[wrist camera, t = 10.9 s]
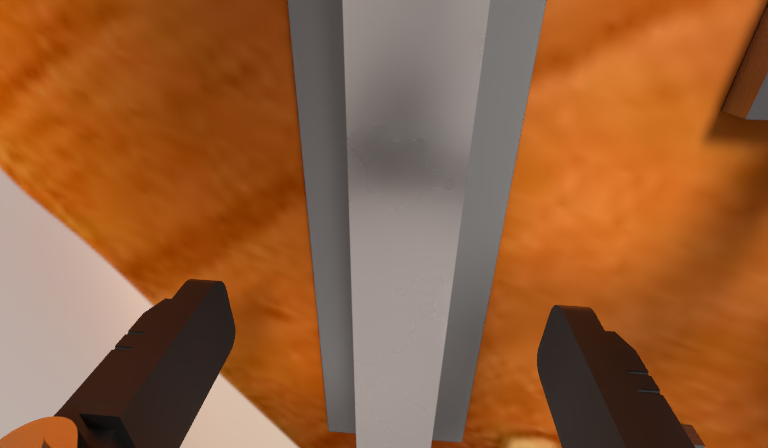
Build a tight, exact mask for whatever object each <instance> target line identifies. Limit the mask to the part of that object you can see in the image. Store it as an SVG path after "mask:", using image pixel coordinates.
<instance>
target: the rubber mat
mask: <svg viewBox="0 0 768 448" xmlns="http://www.w3.org/2000/svg"><path fill="white" fill-rule="evenodd" d="M545 5H546V0H490V6H489V13H488V21H487V28H486V36H485V43H484V51H483V58H482V66H481V74H480V81H479V89H478V96H477V104H476V111H475V119H474V126H473V134H472V142H471V149H470V157H469V164H468V172H467V179H466V187H465V194H464V202H463V209H462V217H461V225H460V232H459V240H458V247H457V255H456V262H455V270H454V277H453V285H452V292H451V300H450V308H449V315H448V323H447V330H446V338H445V345H444V353H443V360H442V368H441V376H440V383H439V391H438V398H437V406H436V413H435V421H434V428H433V436H432V440H437V441H449V442H461V443H462V438H463V433H464V428H465V423H466V418H467V412H468V407H469V402H470V397H471V392H472V386H473V381H474V376H475V371H476V365H477V360H478V355H479V350H480V345H481V339H482V334H483V329H484V324H485V318H486V313H487V308H488V303H489V298H490V292H491V287H492V282H493V277H494V271H495V266H496V261H497V256H498V251H499V245H500V240H501V235H502V230H503V224H504V219H505V214H506V209H507V204H508V198H509V193H510V188H511V183H512V178H513V172H514V167H515V162H516V157H517V151H518V146H519V141H520V136H521V131H522V125H523V120H524V115H525V110H526V104H527V99H528V94H529V89H530V84H531V78H532V73H533V68H534V63H535V57H536V52H537V47H538V42H539V37H540V31H541V26H542V21H543V16H544V10H545ZM288 11H289V21H290V32H291V42H292V53H293V63H294V74H295V84H296V95H297V105H298V116H299V126H300V137H301V147H302V158H303V168H304V179H305V189H306V200H307V210H308V221H309V231H310V242H311V252H312V263H313V273H314V284H315V294H316V305H317V315H318V326H319V336H320V347H321V357H322V368H323V378H324V389H325V399H326V410H327V420H328V431H331V432H343V433H355V434H356V418H355V386H354V354H353V322H352V290H351V258H350V226H349V194H348V162H347V130H346V98H345V66H344V34H343V2H342V0H288Z"/></svg>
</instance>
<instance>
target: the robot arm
mask: <svg viewBox="0 0 768 448" xmlns="http://www.w3.org/2000/svg"><path fill="white" fill-rule="evenodd" d="M234 339H235V324H234V319H233V315H232V311H231V307H230V303H229V299H228V294H227V290H226V287H225V284H224V283H223V282H222V281H211V280H196V279H190V280H188V281H186V282H185V283H184V285H183V286H182V287H181V288H180V289H179V291H178V292H177V293H176V294H175V296H174V297H173V298H172V299H164V300H162V301H161V302H159V303H158V304H157V305H155V306H154V307H152V308H151V309H149V310H148V311H146V312H145V313H143V315H142V316H141V317H140V318H139V319H138V320H137V321H136V323H135V324H134V325H133V326H132V327H131V329H130V330H129V331H128V334H127V335H125V336H123V338H122V339H121V340H120V341H119V342H118V343H117V344H116V346H115V349H114V350H111V351H110V352H109V354H108V355H107V356H106V357H105V358H104V360H103V361H102V362H101V363H100V364H99V365H98V366H97V367H96V369H95V370H94V371H93V372H92V373H91V374H90V375H89V377H88V378H87V379H86V380H85V381H84V382H83V384H82V385H81V386H80V387H79V388H78V389H77V390H76V392H75V393H74V394H73V395H72V396H71V397H70V398H69V400H68V401H67V402H66V403H65V404H64V405H63V406H62V408H61V409H60V410H59V411H58V412H57V413H56V414H55V415H54V416H53V417H46V418H42V419H38V420H35V421H32V422H30V423H27V424H25V425H23V426H21V427H19V428H17V429H15V430H14V431H12V432H11V433H9V434H7V435H6V436H4V437H3V438H2V439H0V448H179V447H180V445H181V444H182V442H183V440H184V438H185V436H186V434H187V432H188V431H189V429H190V426H191V425H192V423H193V421H194V419H195V417H196V415H197V414H198V412H199V410H200V408H201V406H202V404H203V402H204V400H205V399H206V397H207V395H208V393H209V391H210V389H211V387H212V385H213V383H214V381H215V380H216V378H217V376H218V374H219V372H220V370H221V368H222V366H223V365H224V363H225V361H226V359H227V357H228V355H229V353H230V351H231V349H232V347H233V343H234ZM537 367H538V373H539V377H540V380H541V383H542V386H543V389H544V393H545V396H546V399H547V402H548V405H549V408H550V411H551V414H552V417H553V421H554V424H555V427H556V430H557V433H558V436H559V439H560V442H561V445H562V448H695V446H694V445H693V443H692V441H691V440H690V438H689V437H688V435H687V433H686V432H685V430H684V428H683V427H682V425H681V424H680V422H679V420H678V419H677V417H676V416H675V414H674V412H673V411H672V409H671V407H670V406H669V404H668V403H667V401H666V399H665V398H664V396H663V395H660V392H659V391H660V390H659V388H658V386H657V385H656V383H655V382H654V380H653V378H652V377H651V376H649V375H648V370H647V369H646V367H645V365H644V364H643V362H642V361H641V359H640V357H639V356H638V354H637V353H636V351H635V350H634V349H633V348H632V347H631V346H630V345H629V344H628V343H626V342H625V341H624V340H623V339H622V338H621V337H620V336H619V335H618V334H617V333H615V332H611V331H605V330H604V329H603V327H602V325H601V323H600V321H599V320H598V318H597V316H596V314H595V313H594V311H593V310H592V309H591V308H589V307H578V306H563V305H555V306H554V307H553V308H552V309H551V312H550V315H549V318H548V321H547V324H546V327H545V330H544V333H543V336H542V339H541V342H540V346H539V349H538V354H537Z"/></svg>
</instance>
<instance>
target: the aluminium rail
mask: <svg viewBox="0 0 768 448" xmlns="http://www.w3.org/2000/svg"><path fill="white" fill-rule="evenodd" d="M342 2H343V34H344V66H345V98H346V130H347V162H348V194H349V226H350V258H351V290H352V322H353V354H354V386H355V418H356V448H431V443H432V436H433V428H434V421H435V413H436V406H437V398H438V391H439V383H440V376H441V368H442V360H443V353H444V345H445V338H446V330H447V323H448V315H449V308H450V300H451V292H452V285H453V277H454V270H455V262H456V255H457V247H458V240H459V232H460V225H461V217H462V209H463V202H464V194H465V187H466V179H467V172H468V164H469V157H470V149H471V142H472V134H473V126H474V119H475V111H476V104H477V96H478V89H479V81H480V74H481V66H482V58H483V51H484V43H485V36H486V28H487V21H488V13H489V6H490V0H342Z"/></svg>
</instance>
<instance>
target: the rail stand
mask: <svg viewBox="0 0 768 448" xmlns="http://www.w3.org/2000/svg"><path fill="white" fill-rule="evenodd" d="M721 111H722V112H725V113H728V114H731V115H734V116H737V117H740V118H743V119H749V120H768V6H767V8H766V10H765V12H764V15H763V17H762V19H761V22H760V24H759V26H758V28H757V31H756V33H755V35H754V38H753V40H752V42H751V44H750V47H749V49H748V51H747V53H746V56H745V58H744V60H743V63H742V65H741V67H740V69H739V72H738V74H737V76H736V79H735V81H734V83H733V85H732V88H731V90H730V92H729V94H728V97H727V99H726V101H725V104H724V106H723V108H722V110H721ZM682 427H683V428H684V430H685V432H686V433H687V435H688V437H689V438H690V440H691V441H692V443H693V445H694V446H695V448H704V447H705V445H704V443H703V442H702V440H701V439H700V437H699V436H698V434H697V433H696V431H695V429H694V428H693V426H691V425H682Z"/></svg>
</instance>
